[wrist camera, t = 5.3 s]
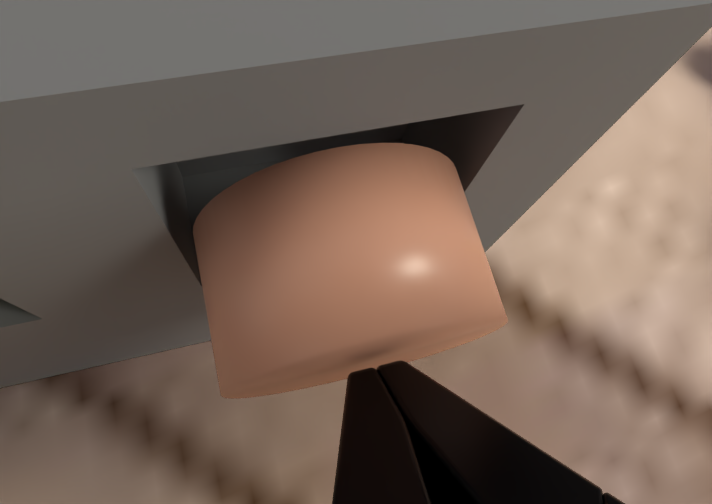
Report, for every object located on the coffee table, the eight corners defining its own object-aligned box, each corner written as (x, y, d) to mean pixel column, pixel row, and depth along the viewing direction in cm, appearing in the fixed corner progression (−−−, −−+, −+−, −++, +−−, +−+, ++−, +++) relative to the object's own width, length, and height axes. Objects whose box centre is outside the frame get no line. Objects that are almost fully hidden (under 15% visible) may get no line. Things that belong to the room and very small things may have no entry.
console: (450, 286, 17) (739, -1, 6) (-150, 422, 14) (-1785, 349, 3) (415, 175, 19) (603, -235, 7) (-146, 279, 16) (-1315, -150, 4)
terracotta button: (458, 350, 11) (561, 293, 7) (237, 405, 10) (196, 380, 6) (423, 235, 12) (495, 120, 7) (214, 278, 11) (163, 176, 7)
